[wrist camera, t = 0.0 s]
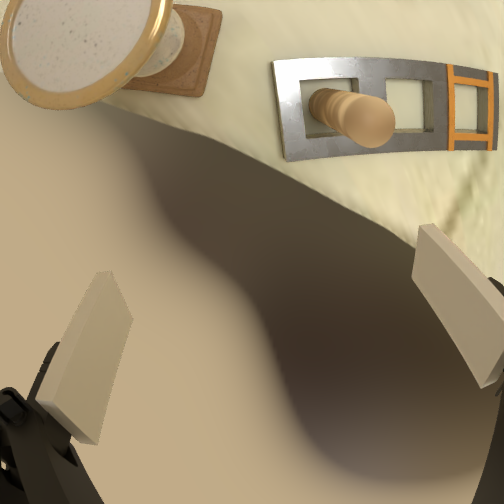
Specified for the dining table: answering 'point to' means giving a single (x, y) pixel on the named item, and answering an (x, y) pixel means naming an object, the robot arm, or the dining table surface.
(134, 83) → the candle holder
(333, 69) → the grey peg board
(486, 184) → the dining table surface
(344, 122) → the peg
